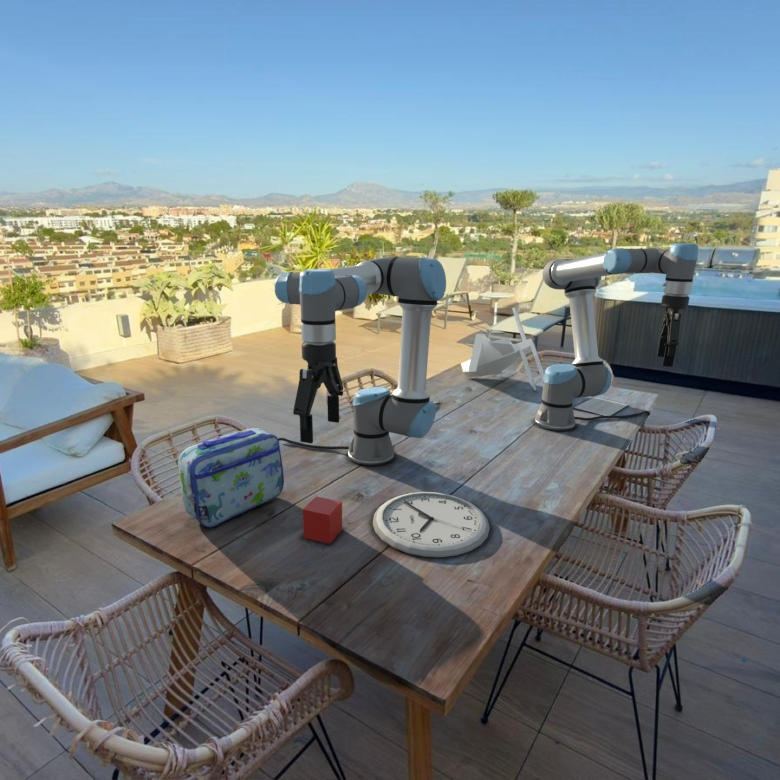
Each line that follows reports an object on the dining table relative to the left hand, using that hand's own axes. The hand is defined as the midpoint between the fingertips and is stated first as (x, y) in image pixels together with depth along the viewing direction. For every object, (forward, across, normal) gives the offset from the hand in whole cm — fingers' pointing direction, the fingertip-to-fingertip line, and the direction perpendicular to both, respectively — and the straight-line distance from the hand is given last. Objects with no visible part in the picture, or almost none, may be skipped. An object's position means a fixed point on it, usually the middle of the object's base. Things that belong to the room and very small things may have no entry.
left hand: (320, 431), depth 121 cm
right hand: (-6, -83, +82) cm, 116 cm away
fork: (+27, -104, 0) cm, 108 cm away
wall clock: (+27, -14, +24) cm, 39 cm away
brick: (+27, 0, 0) cm, 27 cm away
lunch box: (+27, -2, -27) cm, 38 cm away
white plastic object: (+27, -148, +22) cm, 152 cm away
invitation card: (+27, -131, +68) cm, 150 cm away
